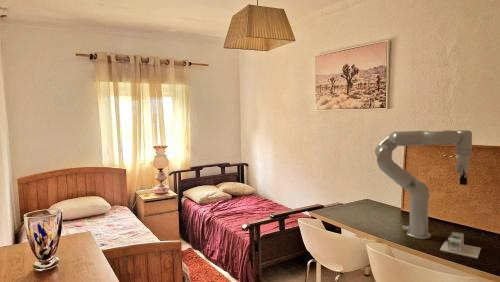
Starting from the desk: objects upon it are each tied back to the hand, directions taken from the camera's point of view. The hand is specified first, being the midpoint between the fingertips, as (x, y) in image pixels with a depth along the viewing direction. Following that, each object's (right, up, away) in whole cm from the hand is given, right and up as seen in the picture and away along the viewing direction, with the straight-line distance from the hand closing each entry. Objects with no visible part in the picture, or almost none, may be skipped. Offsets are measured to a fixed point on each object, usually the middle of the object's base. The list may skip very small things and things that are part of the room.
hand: (463, 184), depth 179 cm
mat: (-11, -32, -14) cm, 37 cm away
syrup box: (-7, -28, -6) cm, 30 cm away
